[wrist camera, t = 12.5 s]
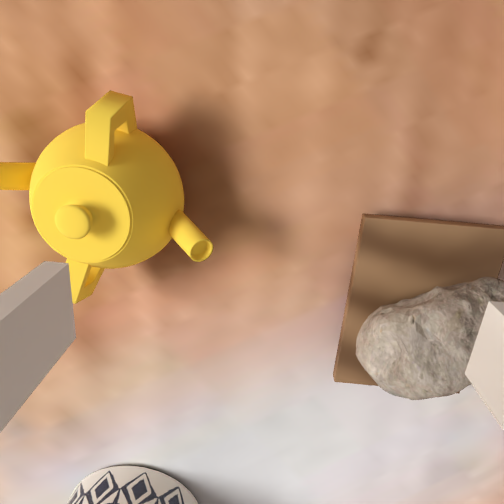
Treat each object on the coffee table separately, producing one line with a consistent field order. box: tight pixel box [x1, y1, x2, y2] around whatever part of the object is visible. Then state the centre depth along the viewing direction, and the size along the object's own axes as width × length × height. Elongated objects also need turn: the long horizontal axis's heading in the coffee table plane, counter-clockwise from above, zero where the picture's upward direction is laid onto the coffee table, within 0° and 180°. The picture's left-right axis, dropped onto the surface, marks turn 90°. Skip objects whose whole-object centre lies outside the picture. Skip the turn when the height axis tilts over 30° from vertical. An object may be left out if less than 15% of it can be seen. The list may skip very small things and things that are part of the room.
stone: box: [356, 277, 504, 400], centre depth 34 cm, size 9×14×10 cm, turn 111°
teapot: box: [0, 91, 213, 304], centre depth 34 cm, size 20×18×11 cm
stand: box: [333, 214, 504, 393], centre depth 41 cm, size 18×13×3 cm
